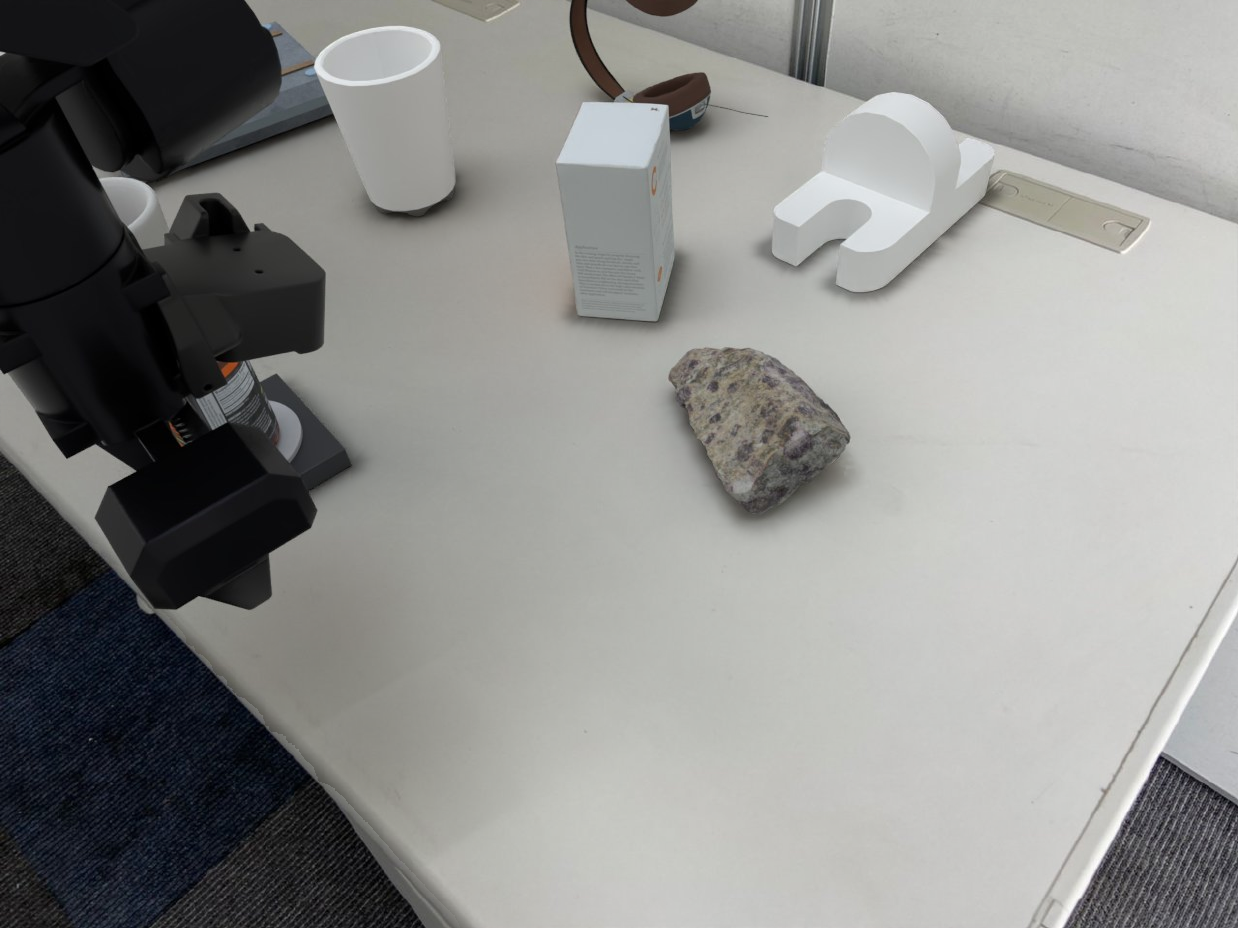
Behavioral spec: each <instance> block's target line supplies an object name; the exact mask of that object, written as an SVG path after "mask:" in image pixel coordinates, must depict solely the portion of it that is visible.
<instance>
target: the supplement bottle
mask: <svg viewBox="0 0 1238 928" xmlns="http://www.w3.org/2000/svg"><path fill="white" fill-rule="evenodd" d="M217 363H218V365H219V367H220V369H221V371H222V373H223V375H224V377H225V379H226V381H227V383H228V384H227V385H225V386H223V387H222V388H220V389H218V390H216V391H214V392H212V393H210V394H208V395H206V396H204V397H202V398H200V399H196V398H194V397H193V395H192V394H191V395H189V396H187V399H188V400H189V401H190V402H191V404H192V405H193V406H194V408H195V409H196V410H197V411H198V413H199V414H200V415H201V417H202V418H203V419H204V420H205V422H206V423H207V424H208V426H209V427H210V428H211V429H212V430H213V429H215V428H217V427H219V426H221V425H223V424H225V423H226V422H230V423H237V424H243V425H250V426H256V427H260V428H261V429H262V431H263V432H264V433H265V434H266V435H267V437H268V438H269V439H270V440H271V441H272V443H273V444H274V445H275V446H276V445H277V442H278V439H279V425H278V422H277V419H276V416H275V414H274V412H273V410H272V408H271V405H270V403H269V401H268V399H267V397H266V395H265V393H264V391H263V389H262V386H261V384H260V382H261V381H260V380H259V378H258V375H257V373H256V371H255V369H254V368H253V366H252V363H251V360H247V361H242V362H235V363H225V362H218V361H217ZM169 424H170V427H171V429H172V432H173V434H174V435H175V437H176V439H177V440H178V442H179V444H180V445H181V447H182V446H184V445H186V443H185V442H184V440H183V439H182V438H181V437H180V435H179V433H178V432H177V431H176V430H175V428H174V427H173V426H172V424H171V423H170V421H169Z"/></svg>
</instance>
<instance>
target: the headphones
mask: <svg viewBox="0 0 1238 928" xmlns="http://www.w3.org/2000/svg"><path fill="white" fill-rule="evenodd" d="M625 1H626V2H627V3H628V4H629V5H631V6H632V7H633V8H635V9H637V10H639V11H640V12H642V13H644V14H646V15H649V16H653V17H659V18H661V17H662V18H664V17H672V16H675V15H678V14H682V13H683V12H685V11H687V10H689V9H690V8H693V6H694V5H696V3H697V2H698V1H699V0H625ZM588 2H589V1H588V0H571V2H570V7H569V17H568V18H569V19H568V21H569V31H570V36H571V41H572V44H573V47H574V50H575V52H576V55H577V57H578V59H579V61H580V63H581V65H582V66H583V68H584V70H585V71H586V72H587V74H588V76H589V77H590V78H591V80H592V81H593V82H594V84H595V85H596V86H597V87H598V88H599V89H600V90H601V91H602V92H603V93H605V95H606V96H608V97H609V98H611V100H613V102H616V103H647V104H662V105H668V107H669V130H670V131H671V130H672V131H683V130H688V129H691V128H693V127H695V126H696V125H697V124H699V122H700V121H701V120H702V118H703V117H704V115H705V113H706V112H707V109H708V106H710V107H716V108H721V109H725V110H730V111H734V112H738V113H741V114H746V115H754V116H758V117H765V118H769V116H768V115H764V114H756V113H749V112H744V111H740V110H736V109H733V108H728V107H724V106H718V105H714V104H710V100H711V94H712V90H711V85H710V81H709V78H708V76H707V74H706V73H705V72H703V71H702V72H701V71H699V72H691V73H686V74H681V75H679V76H678V75H677V76H674V77H673V78H671V79H667V80H664V81H661V82H659V83H655V84H653V85H651V86H648V87H646V88H644V89H643V90H642V89H641V91H639V92H637V93H636V94H633V93H632V92H631V90H630V89H627V90H625V89H624V88H623V87H622V85H621V84H620V83H619V82H618V80H617V79H616V78H615V76H614V75H613V73H611V72H610V70H609V69H608V68H607V66H606V65H605V63H604V61H603V60H602V59H601V57H600V55H599V53H598V51H597V49H596V47H595V45H594V42H593V40H592V37H591V33H590V29H589V24H588V12H587V11H588V8H587V7H588Z"/></svg>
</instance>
